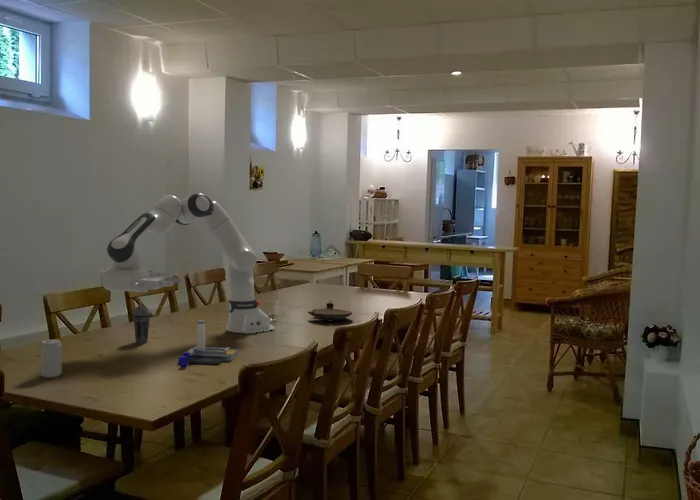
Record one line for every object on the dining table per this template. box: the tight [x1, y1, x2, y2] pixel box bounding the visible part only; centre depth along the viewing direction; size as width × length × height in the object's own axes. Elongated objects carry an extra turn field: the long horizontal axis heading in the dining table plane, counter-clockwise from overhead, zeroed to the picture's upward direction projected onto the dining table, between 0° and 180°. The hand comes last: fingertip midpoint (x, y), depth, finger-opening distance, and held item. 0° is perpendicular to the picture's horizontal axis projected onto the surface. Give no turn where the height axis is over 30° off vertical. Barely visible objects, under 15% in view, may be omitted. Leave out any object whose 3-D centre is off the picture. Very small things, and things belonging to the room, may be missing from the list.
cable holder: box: [177, 351, 190, 368], centre depth 240 cm, size 8×4×4 cm, turn 7°
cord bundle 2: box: [189, 359, 223, 365], centre depth 243 cm, size 12×3×1 cm, turn 87°
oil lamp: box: [307, 299, 353, 321], centre depth 337 cm, size 22×30×8 cm
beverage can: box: [40, 339, 63, 379], centre depth 221 cm, size 6×6×12 cm
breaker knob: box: [196, 319, 206, 350], centre depth 253 cm, size 2×3×12 cm
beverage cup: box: [132, 295, 152, 344], centre depth 273 cm, size 7×7×20 cm
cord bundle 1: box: [205, 345, 232, 349], centre depth 263 cm, size 12×3×1 cm, turn 87°
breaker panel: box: [186, 345, 239, 362], centre depth 253 cm, size 18×12×4 cm, turn 87°
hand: (176, 282), depth 257 cm, fingers open, 8 cm apart
